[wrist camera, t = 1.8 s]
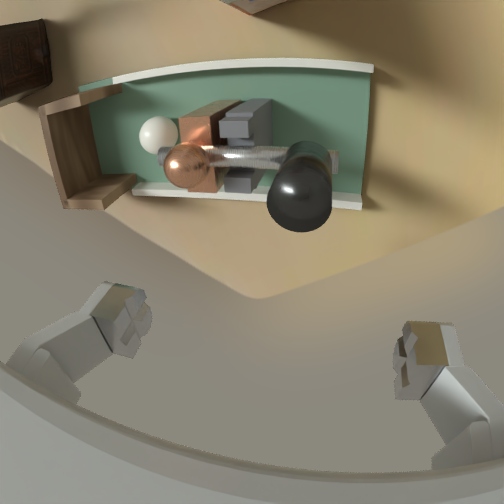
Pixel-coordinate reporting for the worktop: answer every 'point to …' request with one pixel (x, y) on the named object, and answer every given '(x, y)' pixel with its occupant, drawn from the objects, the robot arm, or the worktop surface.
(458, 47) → the worktop surface
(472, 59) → the worktop surface
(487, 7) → the worktop surface
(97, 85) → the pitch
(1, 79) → the manual coffee grinder
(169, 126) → the ball
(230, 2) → the cracker box
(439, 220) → the worktop surface
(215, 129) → the black head mallet
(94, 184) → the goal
